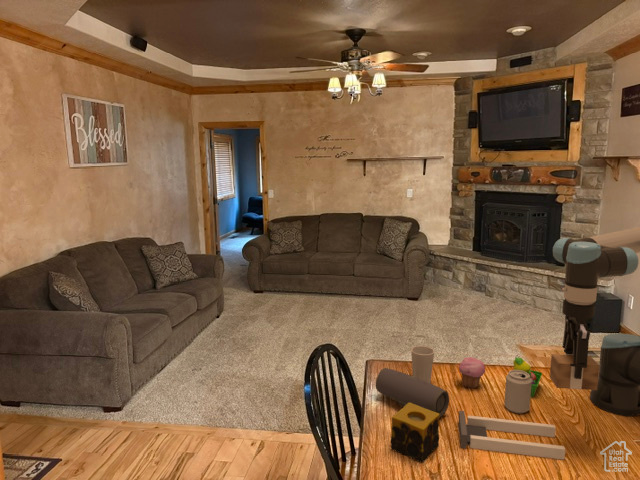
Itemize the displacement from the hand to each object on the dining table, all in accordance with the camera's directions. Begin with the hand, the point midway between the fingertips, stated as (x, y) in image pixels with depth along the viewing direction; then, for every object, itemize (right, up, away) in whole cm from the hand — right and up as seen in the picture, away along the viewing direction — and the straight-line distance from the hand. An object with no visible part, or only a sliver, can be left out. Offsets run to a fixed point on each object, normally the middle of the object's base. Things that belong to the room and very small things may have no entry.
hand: (571, 382), depth 131 cm
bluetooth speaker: (-39, -15, +25) cm, 49 cm away
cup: (-32, -12, +41) cm, 54 cm away
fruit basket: (+2, -13, +35) cm, 38 cm away
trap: (-24, -18, +8) cm, 31 cm away
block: (0, 0, 0) cm, 1 cm away
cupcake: (-15, -13, +38) cm, 43 cm away
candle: (-42, -19, +3) cm, 46 cm away
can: (-6, -15, +23) cm, 28 cm away
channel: (-14, -18, +6) cm, 24 cm away
